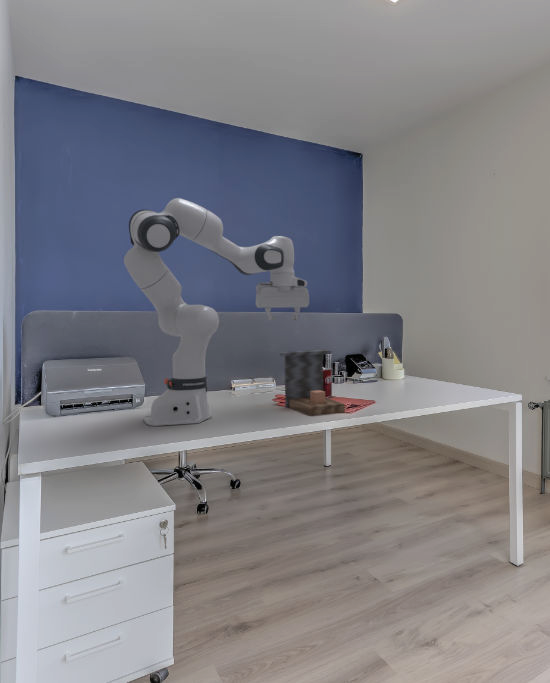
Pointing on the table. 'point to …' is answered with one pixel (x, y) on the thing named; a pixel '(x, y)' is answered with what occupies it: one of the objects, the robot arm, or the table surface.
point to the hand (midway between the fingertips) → (282, 320)
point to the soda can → (327, 382)
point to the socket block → (307, 382)
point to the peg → (317, 397)
